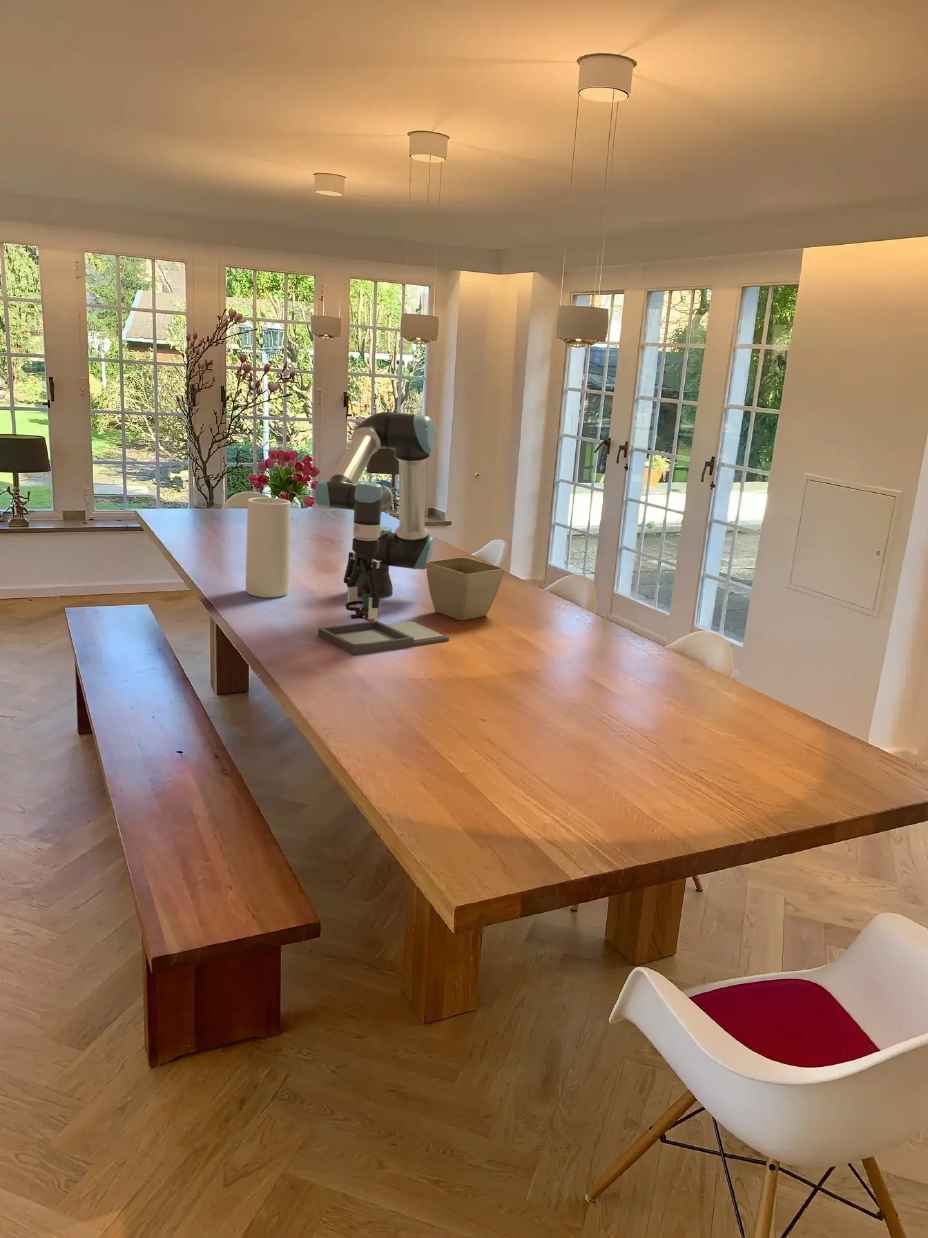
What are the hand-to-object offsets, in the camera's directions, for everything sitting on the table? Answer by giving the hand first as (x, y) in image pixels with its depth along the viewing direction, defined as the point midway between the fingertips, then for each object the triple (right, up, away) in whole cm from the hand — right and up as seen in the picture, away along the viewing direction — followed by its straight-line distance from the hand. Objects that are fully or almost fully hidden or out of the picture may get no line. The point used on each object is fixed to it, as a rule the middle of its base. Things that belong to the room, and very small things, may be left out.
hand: (362, 613), depth 261 cm
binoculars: (0, -2, 0) cm, 2 cm away
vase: (-37, +7, +46) cm, 60 cm away
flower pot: (+28, 0, +40) cm, 49 cm away
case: (+6, -7, +6) cm, 11 cm away
